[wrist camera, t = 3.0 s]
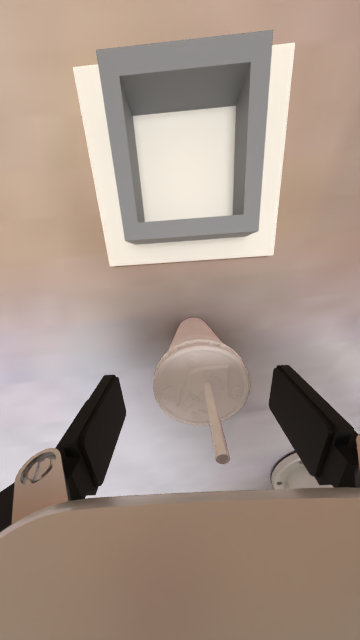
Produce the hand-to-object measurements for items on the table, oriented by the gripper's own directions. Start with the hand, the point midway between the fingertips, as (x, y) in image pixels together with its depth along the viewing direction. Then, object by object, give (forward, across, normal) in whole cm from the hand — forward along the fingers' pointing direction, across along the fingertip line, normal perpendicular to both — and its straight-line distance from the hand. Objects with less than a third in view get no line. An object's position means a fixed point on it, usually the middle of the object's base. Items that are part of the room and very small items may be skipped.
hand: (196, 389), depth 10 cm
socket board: (+11, -1, -14) cm, 18 cm away
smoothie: (+10, -1, +1) cm, 10 cm away
